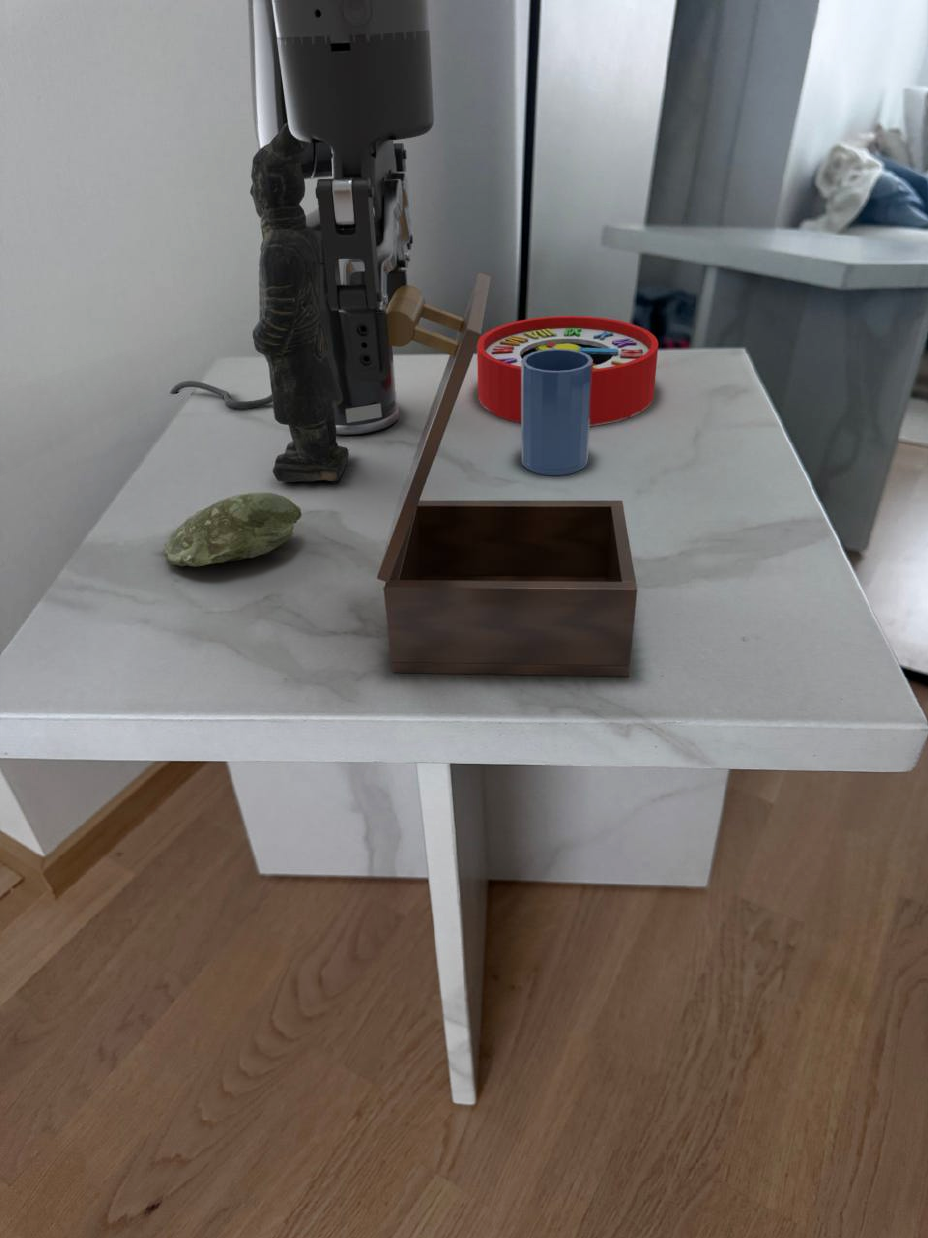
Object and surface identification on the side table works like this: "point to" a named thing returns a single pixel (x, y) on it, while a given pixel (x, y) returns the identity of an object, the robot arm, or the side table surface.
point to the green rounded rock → (233, 530)
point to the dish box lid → (401, 331)
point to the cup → (555, 410)
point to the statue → (294, 317)
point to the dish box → (513, 589)
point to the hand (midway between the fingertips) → (382, 354)
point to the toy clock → (611, 344)
